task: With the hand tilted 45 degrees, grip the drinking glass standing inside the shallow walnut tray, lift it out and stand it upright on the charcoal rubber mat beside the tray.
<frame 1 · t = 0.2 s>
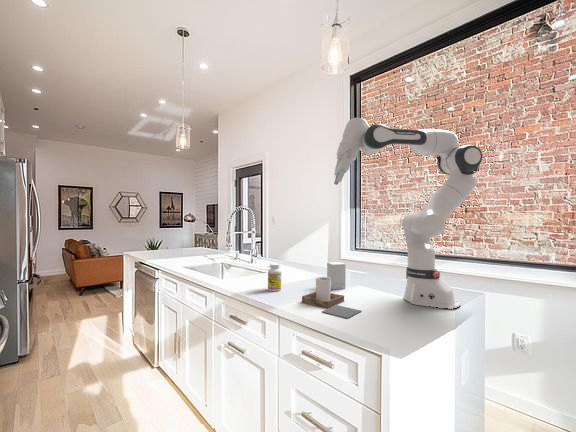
hand: (337, 183, 134), 51 cm above the countertop, tool tilted 20°, fingers open, 8 cm apart
walnut tray: (323, 301, 131), on the countertop
charcoal mat: (341, 312, 117), on the countertop
supplement box: (336, 288, 156), on the countertop
supplement bottle: (274, 290, 150), on the countertop
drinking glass: (323, 302, 131), resting in walnut tray
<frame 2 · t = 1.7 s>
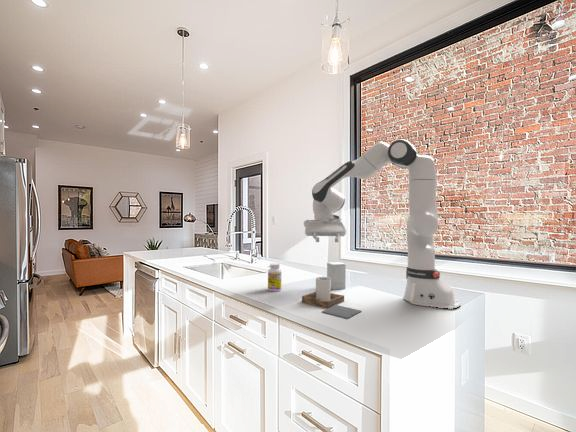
hand: (327, 241, 146), 25 cm above the countertop, tool tilted 45°, fingers open, 8 cm apart
nothing on the countertop moved.
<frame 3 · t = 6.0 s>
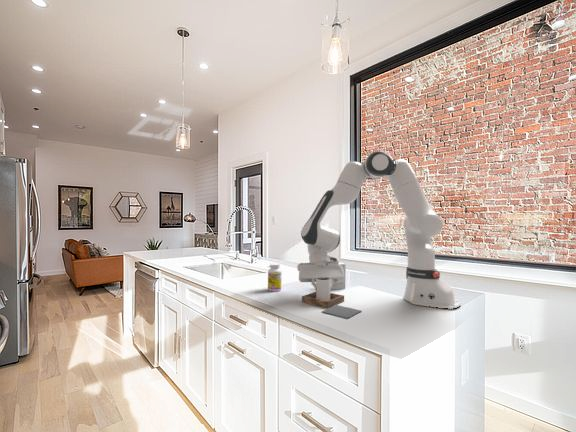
hand: (323, 289, 130), 5 cm above the countertop, tool tilted 45°, fingers closed on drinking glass, 4 cm apart
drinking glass: (323, 302, 131), resting in walnut tray, touching gripper
everything else where it was.
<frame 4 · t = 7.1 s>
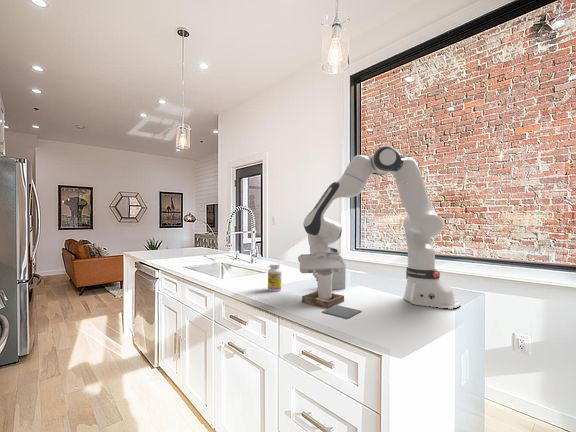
hand: (324, 280, 130), 9 cm above the countertop, tool tilted 45°, fingers closed on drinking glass, 4 cm apart
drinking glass: (324, 297, 131), point 2 cm above the countertop, touching gripper
everything else where it was.
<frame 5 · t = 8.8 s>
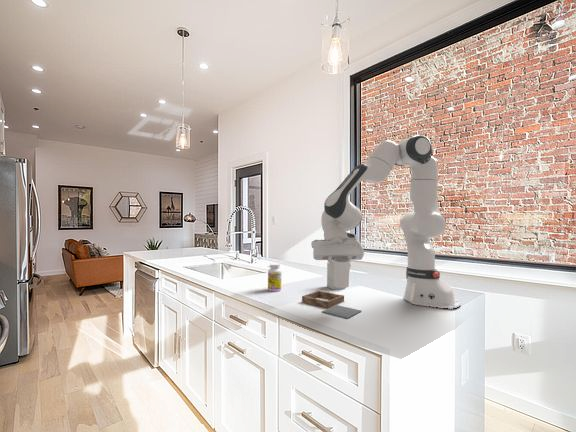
hand: (341, 267, 117), 17 cm above the countertop, tool tilted 45°, fingers closed on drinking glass, 4 cm apart
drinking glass: (341, 286, 118), point 10 cm above the countertop, touching gripper
everything else where it was.
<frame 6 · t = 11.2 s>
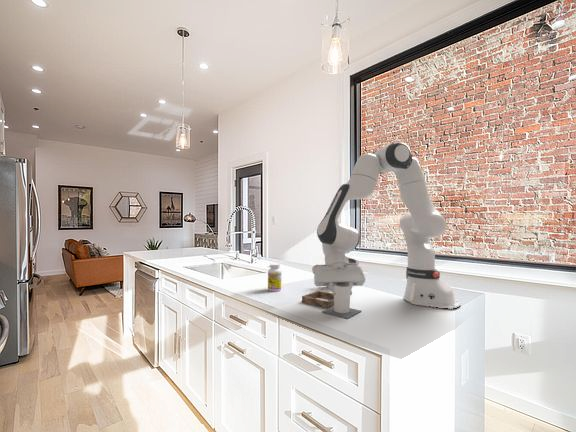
hand: (342, 294, 116), 7 cm above the countertop, tool tilted 45°, fingers closed on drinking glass, 4 cm apart
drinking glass: (341, 311, 117), resting on charcoal mat, touching gripper
everything else where it was.
when the fingers open (7 cm above the countertop, at t = 11.7 s): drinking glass stays where it is, resting on charcoal mat.
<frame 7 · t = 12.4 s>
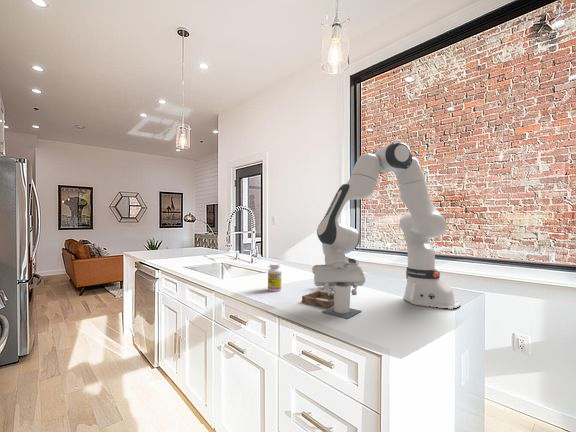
hand: (342, 294, 116), 7 cm above the countertop, tool tilted 45°, fingers open, 8 cm apart
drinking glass: (341, 311, 117), resting on charcoal mat
everything else where it was.
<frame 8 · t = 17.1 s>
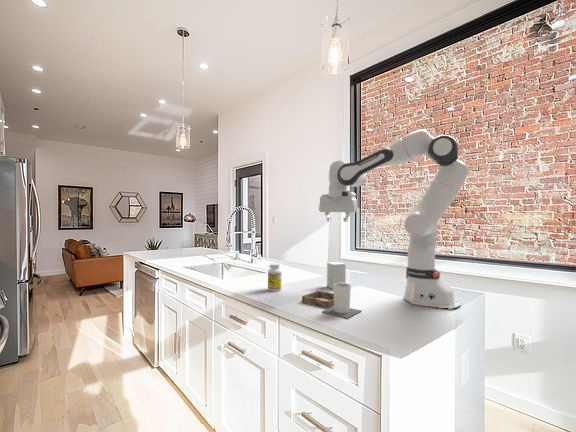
hand: (337, 221, 153), 34 cm above the countertop, tool pointing down, fingers open, 8 cm apart
nothing on the countertop moved.
at the end: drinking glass inside the target area on the charcoal mat (0.3 cm from its centre), point 0.2 cm above the charcoal mat's base; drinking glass tilted 0°; the gripper is holding nothing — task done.
